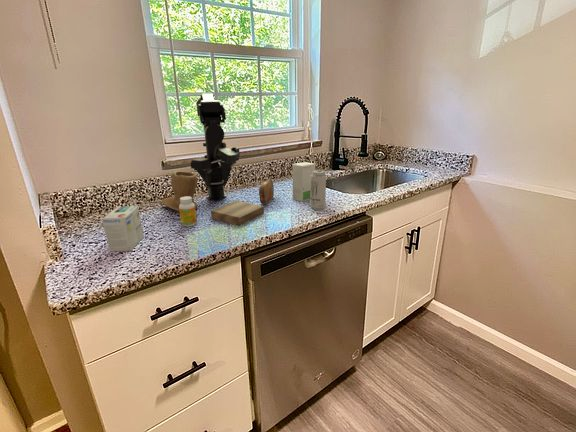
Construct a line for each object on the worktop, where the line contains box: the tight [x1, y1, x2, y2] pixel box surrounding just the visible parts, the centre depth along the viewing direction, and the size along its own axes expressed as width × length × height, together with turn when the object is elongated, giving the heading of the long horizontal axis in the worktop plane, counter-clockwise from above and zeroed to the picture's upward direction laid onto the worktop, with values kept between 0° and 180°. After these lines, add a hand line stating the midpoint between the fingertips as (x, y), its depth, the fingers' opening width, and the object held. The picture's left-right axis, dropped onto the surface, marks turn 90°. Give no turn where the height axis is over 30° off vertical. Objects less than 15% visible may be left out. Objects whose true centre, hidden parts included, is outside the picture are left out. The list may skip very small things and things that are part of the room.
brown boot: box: [161, 170, 198, 212], centre depth 126 cm, size 15×12×15 cm
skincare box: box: [292, 161, 316, 203], centre depth 134 cm, size 8×7×16 cm
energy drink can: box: [309, 169, 327, 211], centre depth 123 cm, size 6×6×15 cm
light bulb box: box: [101, 205, 145, 253], centre depth 95 cm, size 11×7×11 cm, turn 5°
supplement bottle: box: [178, 196, 198, 227], centre depth 110 cm, size 5×5×10 cm
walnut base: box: [210, 200, 265, 227], centre depth 118 cm, size 14×14×3 cm
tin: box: [258, 180, 275, 205], centre depth 133 cm, size 15×3×8 cm, turn 168°
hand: (218, 184), depth 112 cm, fingers open, 9 cm apart
